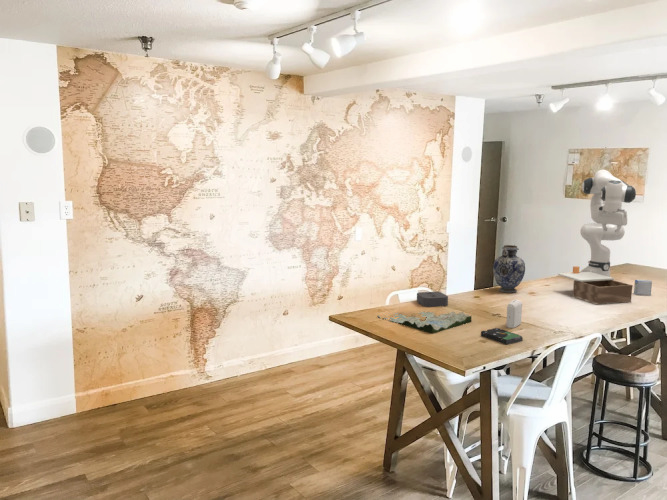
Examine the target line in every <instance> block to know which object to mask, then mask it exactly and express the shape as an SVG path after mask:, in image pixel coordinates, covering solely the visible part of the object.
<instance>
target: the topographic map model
mask: <svg viewBox="0 0 667 500" xmlns="http://www.w3.org/2000/svg"><path fill="white" fill-rule="evenodd" d="M420 312H421V313H420ZM420 312H418V313H419V314H418V315H422V314H423V315H422V317H421V318H423V317H424V316H425V317H427V318H424V319H426V320H425V321H422V320H421V319H420V317H417V316H412V317H411V316H407V315H404V314H401V313H397V312H394V313H395V314H393V315H394V316H395V317H394V318H396V317H399V318H397V319H394V318H393V317H389V318H390V319H391V320H390V319H389V318H387V317H383V318H382V316H381V317H380V315H377V317H378V319H382V320H384V319H385V321H387V320H386V319H389V321H388V322H391V321H392V323H394V322H395V324H397V323H398V324H397V325H401V324H402V326H404V325H405V326H404V327H408V328H410V329H411V328H412V329H415V330H418V331H422V332H425V333H428V334H432V335H433V334H436V333H441V332H443V331H446V330H450V329H453V327H454V328H456V327H460V326H464V325H466V323H467V324H470V323H472V315H470V314H466V313H464V312H458V313H456V312H455V311H451V312H447V313H441V315H435V312H433V311H432V312H431V311H427V312H426V311H420ZM398 314H399V315H398ZM396 315H398V316H396ZM377 317H376V318H377ZM406 317H407V318H406ZM409 317H410V318H409ZM400 318H401V319H400ZM419 319H420V320H421V321H420V320H419ZM463 324H464V325H463Z"/></svg>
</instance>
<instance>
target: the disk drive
mask: <svg viewBox="0 0 667 500" xmlns="http://www.w3.org/2000/svg"><path fill="white" fill-rule="evenodd" d="M480 337H483V338H486V339H489V340H491V341H495V342H498V343H500V344H503V345H513V344H516V343H519V342H522V341H523V340H524V339H523V336H522V335H520V334H517V333H514V332H512V331H511V332H510V331H508V330H505V329H501V328H497V327H495V328H491V329H487V330H481V331H480Z"/></svg>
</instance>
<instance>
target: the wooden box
mask: <svg viewBox="0 0 667 500" xmlns="http://www.w3.org/2000/svg"><path fill="white" fill-rule="evenodd" d="M632 292H633V285H632V284H629V283H626V282H625V283H624V282H622V281H619V280H618V281H617V280H615V279H614V280H604V281H587V282H580V281H576V280H573V289H572V297H573V298H576V299H580V300H583V301H586V302H588V303H592V304H595V305H597V306H598V305H611V304H625V303H627V304H628V303H632V297H633V296H632V294H633V293H632Z"/></svg>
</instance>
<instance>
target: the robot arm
mask: <svg viewBox="0 0 667 500" xmlns="http://www.w3.org/2000/svg"><path fill="white" fill-rule="evenodd" d="M581 190H582V193H583V194H585V195H592V196H591V197H590V206H589V207H590V216H591V219H592V221H593V222H592V223H590V222H589V223H584V224H583V225H582V226H581V227H580V236H581V237H582V239H584V240H585V241H586V242H587V243H588V244H589V247H590V260H588V261H587V263H588V265H587V266H585V267H584V268H583V269H581V271H580V272H592V273H596V274H600V275H604V276H608V277H611V269H610V268H611V259H610V258H611V249H610V248H609V247H607V245H604V244H602V243H601V241H612V242H613V241H619V240H620V241H621V239H623V237H624V236H625V228H624V226H627V225H628V214H627V211H626V210H625V209H622V208H623V207H622V206H623V205H622V204H623V203H624V204H625V203H626V204H628V203H629V204H631V202H633V201H634V200H635V199H636V195H637V193H636V192H637V191H636V189H635V188H634V186H632V185H629V184H628V183H626V182H625V181H624V180H622V179H619V178H617V177H616V176H614V175H613V174H612V173H611V172H610V171H608V170H607V169H599V170H597V171H596V172H595V173H594V176H593V177H589V178H586V179H584V180H583V181H582V184H581Z"/></svg>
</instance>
